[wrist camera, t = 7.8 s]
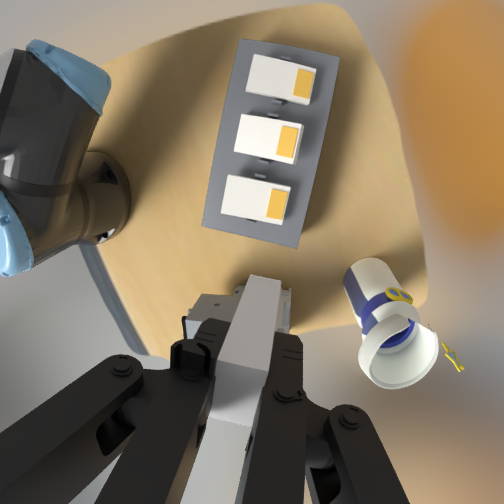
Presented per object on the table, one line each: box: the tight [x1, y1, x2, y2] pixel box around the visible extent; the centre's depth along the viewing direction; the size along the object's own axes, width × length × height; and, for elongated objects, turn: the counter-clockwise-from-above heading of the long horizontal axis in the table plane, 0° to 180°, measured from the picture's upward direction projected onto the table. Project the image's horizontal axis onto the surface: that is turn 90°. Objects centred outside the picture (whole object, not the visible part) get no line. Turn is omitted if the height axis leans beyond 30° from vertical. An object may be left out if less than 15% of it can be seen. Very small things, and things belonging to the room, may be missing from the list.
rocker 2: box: [234, 114, 304, 165], centre depth 32 cm, size 7×4×1 cm, turn 78°
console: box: [202, 39, 340, 249], centre depth 35 cm, size 12×24×8 cm, turn 168°
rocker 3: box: [221, 174, 291, 225], centre depth 34 cm, size 7×4×1 cm, turn 78°
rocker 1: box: [245, 54, 316, 106], centre depth 29 cm, size 7×4×1 cm, turn 78°
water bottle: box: [343, 257, 465, 389], centre depth 31 cm, size 8×9×25 cm
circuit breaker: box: [182, 285, 291, 339], centre depth 40 cm, size 8×14×15 cm, turn 90°
